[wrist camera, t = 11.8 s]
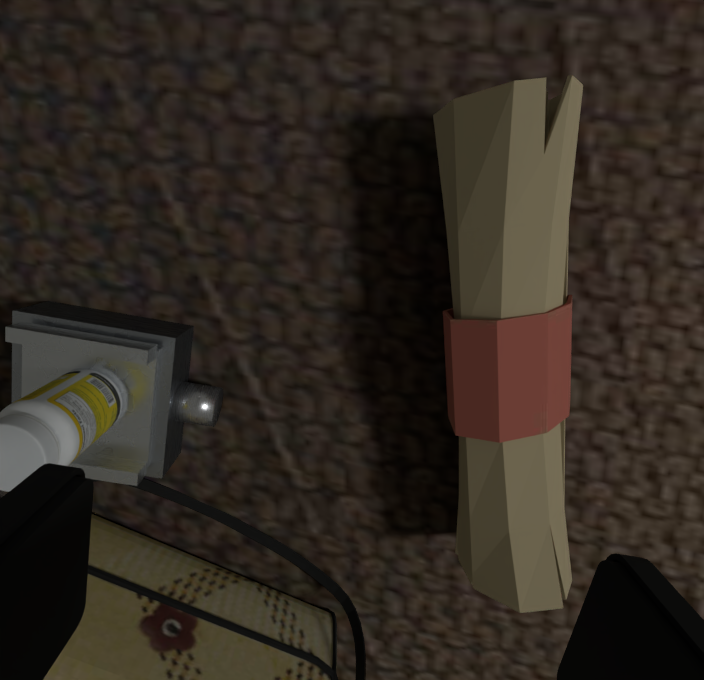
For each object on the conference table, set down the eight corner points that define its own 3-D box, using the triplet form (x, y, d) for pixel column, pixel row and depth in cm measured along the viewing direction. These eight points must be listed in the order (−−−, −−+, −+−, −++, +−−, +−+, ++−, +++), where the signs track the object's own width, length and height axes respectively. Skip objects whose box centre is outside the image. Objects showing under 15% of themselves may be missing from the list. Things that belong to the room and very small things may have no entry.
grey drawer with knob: (49, 301, 35) (-11, 316, 29) (232, 332, 36) (210, 353, 30) (45, 431, 38) (-11, 470, 32) (216, 458, 38) (193, 500, 33)
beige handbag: (376, 576, 42) (394, 763, 27) (340, 632, 43) (340, 838, 29) (60, 439, 38) (-114, 572, 23) (33, 506, 39) (-148, 670, 25)
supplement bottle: (52, 423, 33) (-44, 488, 24) (58, 360, 32) (-41, 408, 23) (120, 436, 33) (48, 506, 25) (128, 376, 32) (56, 427, 24)
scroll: (423, 549, 39) (506, 639, 30) (394, 121, 31) (495, 71, 22) (520, 509, 43) (618, 578, 34) (516, 120, 35) (644, 77, 26)
